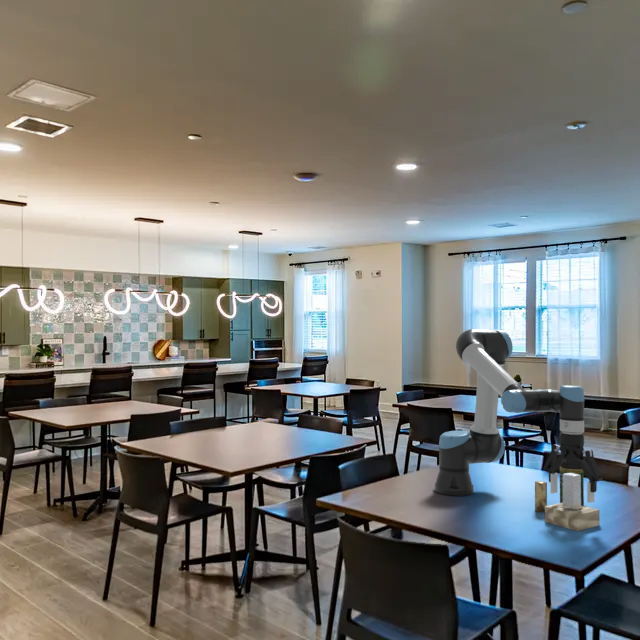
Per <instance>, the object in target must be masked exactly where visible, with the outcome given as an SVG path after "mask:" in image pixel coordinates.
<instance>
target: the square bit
mask: <svg viewBox="0 0 640 640" xmlns="http://www.w3.org/2000/svg"><path fill="white" fill-rule="evenodd" d="M563 508H564V509H568V510H571V511H578V510H581V475H578V474H574V473H566V474H563Z"/></svg>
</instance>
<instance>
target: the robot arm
mask: <svg viewBox="0 0 640 640" xmlns="http://www.w3.org/2000/svg"><path fill="white" fill-rule="evenodd" d="M513 347H514V346H513V340H512V338H511V337H510V335H509V334H508V333H507V332H506V331H505V330H502V329H496V328H495V329H492V328H490V329H489V328H488V329H486V328H485V329H482V328H480V329H476V328H471V329H467V330H465V331H463V332H461V334H459V336H458V337H457V340H456V343H455V350H456V353H457V355H458V358H459V359H460V360H461V361H463V363H465V365H469V366H471V367H472V368H473V370H475V371H476V372H477V380H476V381H477V383H476V393H475V394H476V397H475V407H474V408H475V409H474V420H473V421H474V423H473V424H472V425H471V426H470V428H469V431H467V430H461V429H460V430H450V431H445V432H443V433H442V434H441V435H440V436H439V442H438V447H439V450H438V451H439V454H438V455H439V458H438V459H439V460H438V463H439V466H438V468H439V469H438V470H439V471H438V473H437V477H436V482H435V483H434V491H435V493H438V494H442V495H444V496H445V495H448V496H456V497H457V496H458V497H461V496H471V495H473V494H474V490H475V489H474V484H473V483H472V478H471V474H470V464H484V463H485V464H489V463H494V462H497V461H499V460H500V459H501V458H502V457H503V455H504V453H505V448H506V443H505V441H504V437H503V435H502V434H501V433H500V429H499V428H497V420H498V419H497V417H498V405H499V397H500V398H501V399H500V402H501V405H502V409H504V411H506V412H508V413H514V414H519V413H541V412H545V413H546V412H552V413H559V431H560V433H559V443H560V445H559V444H558V443H556V444H555V443H554V444H551V450H550V453H549V455H548V456H547V459H546V461H545V464H544V465H543V468H542V469H543V470H544V471H546V472H548V483H550V494H557V493H558V472H557V470H558V469H560V466H561V465H562V463H563V462H564V461H565V460H567V461H572V462H576V463H577V464H579V465H580V467H581V468H582V470H583V471H584V474H585V476H586V478H587V479H588V481H587V484H586V487H587V488H586V490H587V496H586V497H587V501H586V502H587V503H589V504H590V503H595V493H596V492H597V489H598V487H597V486H598V485H597V483H598V482H600V481H603V475H602V473H601V471H600V469H599V466H598V465H597V462H596V460H595V456H594V451H593V450H592V449H584V446H585V434H584V432H585V393H584V391H585V390H584V388H583V387H582V386H580V385H570V384H569V385H567V384H566V385H560V387H559V390H557V389H549V388H538V389H525V388H523V386H522V385H520V384H519V383H518V381H516V380H515V378H513V377H512V376H511V375H510V374H509V373H508V372H507V371H506V369H504V368H503V366H505V364H506V359H509V358H510V357H511V355H512V354H513V350H514V349H513ZM559 452H560V455H559V456H558V454H559ZM557 456H558V458H557Z"/></svg>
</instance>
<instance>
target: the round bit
mask: <svg viewBox="0 0 640 640" xmlns="http://www.w3.org/2000/svg"><path fill="white" fill-rule="evenodd" d="M545 506H548V482H546V481H542V480H537V481H534V511H535V512H537V513H545Z"/></svg>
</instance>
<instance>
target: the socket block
mask: <svg viewBox="0 0 640 640" xmlns="http://www.w3.org/2000/svg"><path fill="white" fill-rule="evenodd" d="M600 517H601V516H600V509H597V508H594V507H591V506H590V507H589V506H586V505H584V506H583V505H581V510H578V511H571V510H568V509H564V508H563V503H560V502H559V503H558V502H557V503H555V504H550V505H547V506H545V512H544V522H545V523H549V524H552V525H556V526H558V527H561V528H566V529H568V530H572V531H576V532H580V531H583V530H587V529H591V528H596V527H598V526H600Z"/></svg>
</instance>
